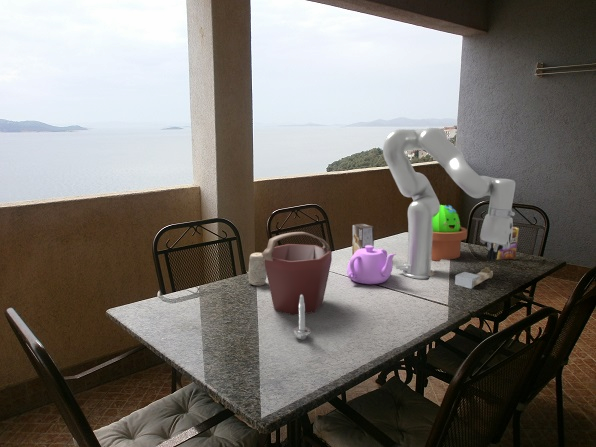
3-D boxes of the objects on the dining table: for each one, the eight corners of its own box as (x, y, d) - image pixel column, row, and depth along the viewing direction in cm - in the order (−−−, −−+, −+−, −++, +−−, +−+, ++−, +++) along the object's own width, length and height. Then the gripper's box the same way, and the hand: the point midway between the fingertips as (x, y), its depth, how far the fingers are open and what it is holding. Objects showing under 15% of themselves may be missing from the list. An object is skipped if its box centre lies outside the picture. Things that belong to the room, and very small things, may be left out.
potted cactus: (406, 252, 214) (409, 201, 209) (445, 248, 221) (448, 199, 216) (433, 265, 194) (436, 209, 189) (474, 260, 200) (479, 206, 195)
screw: (301, 332, 129) (313, 337, 126) (289, 337, 125) (302, 343, 122) (300, 290, 126) (313, 294, 123) (289, 294, 123) (302, 298, 120)
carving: (263, 287, 167) (263, 257, 164) (245, 285, 169) (244, 255, 167) (270, 282, 173) (269, 252, 170) (252, 280, 175) (251, 251, 173)
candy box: (497, 262, 198) (500, 228, 194) (492, 259, 202) (494, 226, 199) (515, 261, 199) (519, 228, 196) (510, 258, 203) (513, 226, 200)
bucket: (267, 321, 137) (265, 243, 132) (254, 296, 157) (253, 228, 152) (341, 312, 143) (342, 237, 138) (320, 290, 164) (320, 224, 159)
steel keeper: (471, 289, 161) (472, 279, 160) (454, 284, 165) (455, 275, 165) (479, 285, 165) (480, 275, 164) (463, 280, 170) (464, 271, 169)
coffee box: (374, 261, 200) (375, 226, 197) (362, 263, 197) (363, 228, 194) (362, 256, 208) (363, 223, 205) (351, 258, 206) (352, 224, 202)
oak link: (483, 273, 178) (483, 265, 177) (494, 276, 175) (495, 267, 174) (463, 284, 165) (463, 275, 164) (474, 287, 162) (475, 278, 161)
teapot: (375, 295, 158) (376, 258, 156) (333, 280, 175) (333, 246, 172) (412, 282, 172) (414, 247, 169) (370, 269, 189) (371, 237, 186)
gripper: (524, 215, 158) (516, 264, 162) (483, 208, 168) (476, 253, 172) (516, 218, 153) (507, 268, 157) (474, 210, 163) (467, 257, 167)
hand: (491, 260), depth 165 cm, fingers closed
